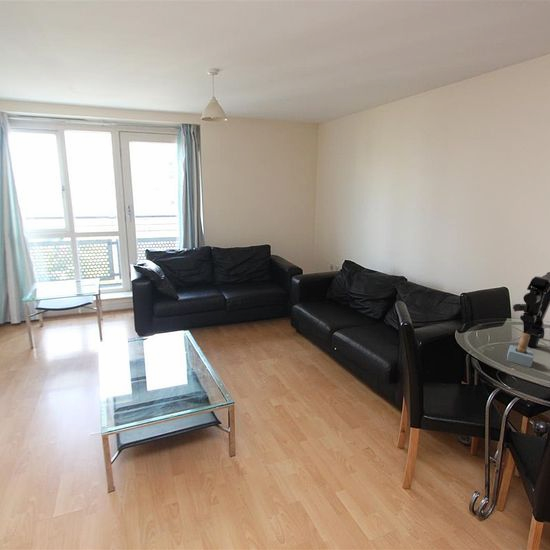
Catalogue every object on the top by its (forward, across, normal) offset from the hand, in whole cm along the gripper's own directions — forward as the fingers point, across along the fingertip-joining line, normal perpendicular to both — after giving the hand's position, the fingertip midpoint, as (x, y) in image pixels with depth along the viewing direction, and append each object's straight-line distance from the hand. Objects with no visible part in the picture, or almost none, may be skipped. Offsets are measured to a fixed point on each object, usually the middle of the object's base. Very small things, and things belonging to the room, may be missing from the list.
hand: (526, 330), depth 194 cm
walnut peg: (+11, +15, +2) cm, 18 cm away
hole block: (+12, +15, +2) cm, 19 cm away
